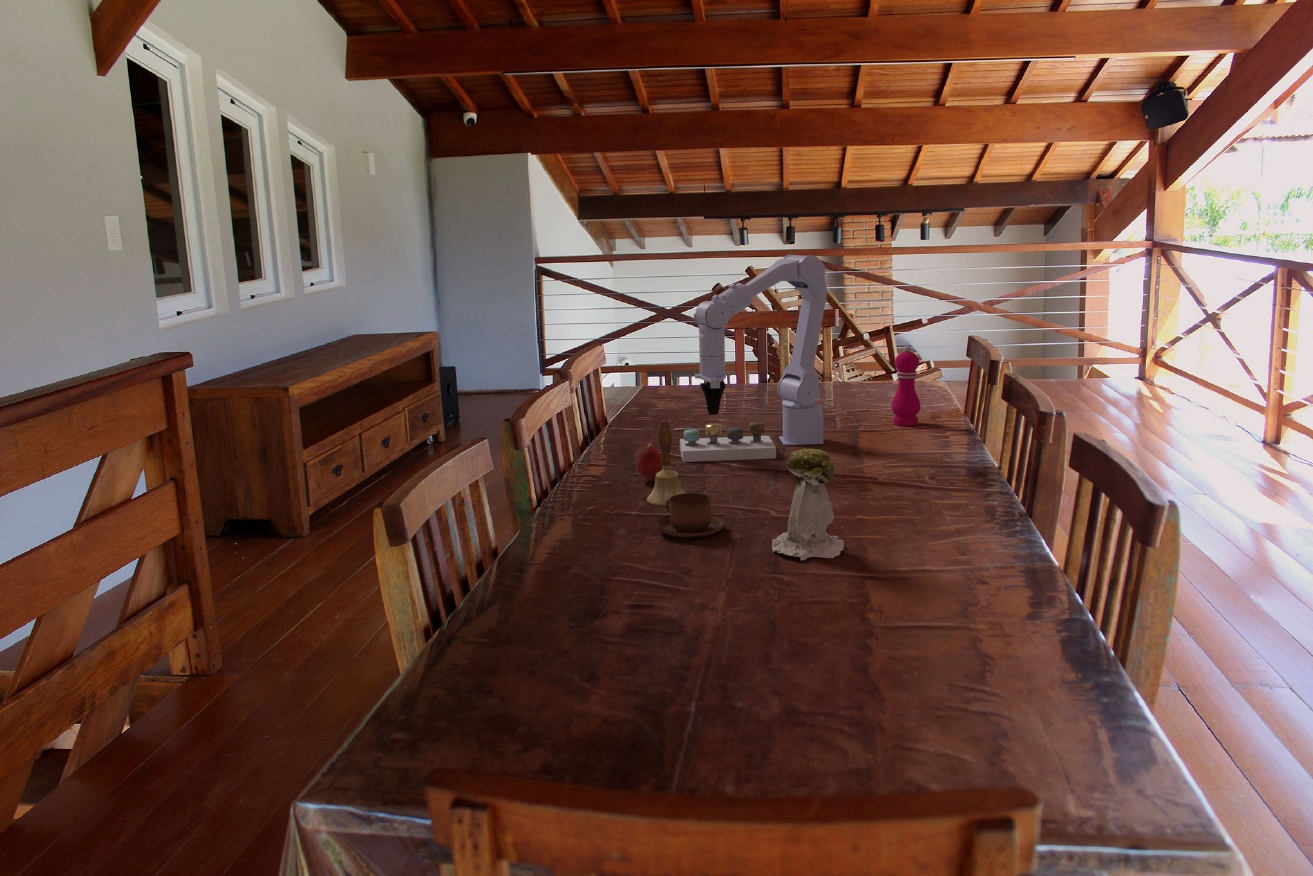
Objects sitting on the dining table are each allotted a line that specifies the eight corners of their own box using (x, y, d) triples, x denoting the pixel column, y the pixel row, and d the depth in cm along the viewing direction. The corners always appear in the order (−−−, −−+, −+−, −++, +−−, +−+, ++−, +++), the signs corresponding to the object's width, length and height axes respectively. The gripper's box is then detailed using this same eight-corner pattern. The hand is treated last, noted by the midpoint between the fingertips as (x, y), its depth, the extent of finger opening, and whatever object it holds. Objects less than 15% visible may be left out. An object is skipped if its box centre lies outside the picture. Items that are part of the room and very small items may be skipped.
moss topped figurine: (763, 541, 171) (762, 444, 167) (829, 535, 173) (830, 439, 169) (783, 563, 160) (782, 460, 156) (854, 556, 162) (855, 454, 158)
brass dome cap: (720, 440, 232) (720, 423, 231) (722, 444, 229) (721, 426, 228) (705, 441, 232) (704, 423, 231) (706, 445, 229) (706, 427, 228)
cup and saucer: (644, 538, 175) (643, 504, 174) (675, 518, 185) (674, 486, 184) (707, 547, 170) (706, 512, 168) (735, 526, 180) (734, 493, 179)
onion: (661, 485, 207) (660, 447, 205) (634, 484, 208) (633, 447, 206) (667, 477, 213) (665, 441, 211) (640, 477, 214) (639, 440, 212)
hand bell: (672, 508, 191) (670, 426, 188) (638, 502, 196) (635, 422, 193) (697, 497, 198) (695, 418, 194) (663, 491, 203) (661, 414, 199)
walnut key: (763, 439, 233) (763, 421, 232) (765, 442, 229) (765, 424, 228) (748, 439, 232) (748, 422, 232) (750, 443, 229) (749, 425, 228)
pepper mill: (917, 420, 259) (919, 343, 254) (922, 426, 252) (924, 347, 247) (889, 420, 259) (890, 344, 255) (892, 427, 252) (894, 348, 248)
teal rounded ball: (699, 446, 233) (698, 429, 232) (700, 450, 229) (700, 432, 228) (683, 447, 232) (683, 429, 232) (684, 451, 229) (684, 433, 228)
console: (768, 445, 237) (768, 435, 237) (776, 458, 226) (775, 447, 225) (680, 449, 237) (679, 439, 236) (682, 462, 225) (682, 451, 225)
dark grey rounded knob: (742, 445, 233) (742, 427, 232) (744, 448, 229) (743, 430, 228) (726, 445, 233) (726, 428, 232) (728, 449, 229) (728, 431, 228)
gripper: (692, 351, 233) (693, 408, 236) (696, 360, 219) (698, 421, 222) (722, 350, 233) (723, 407, 236) (728, 359, 219) (729, 420, 222)
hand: (713, 414), depth 229 cm, fingers closed
